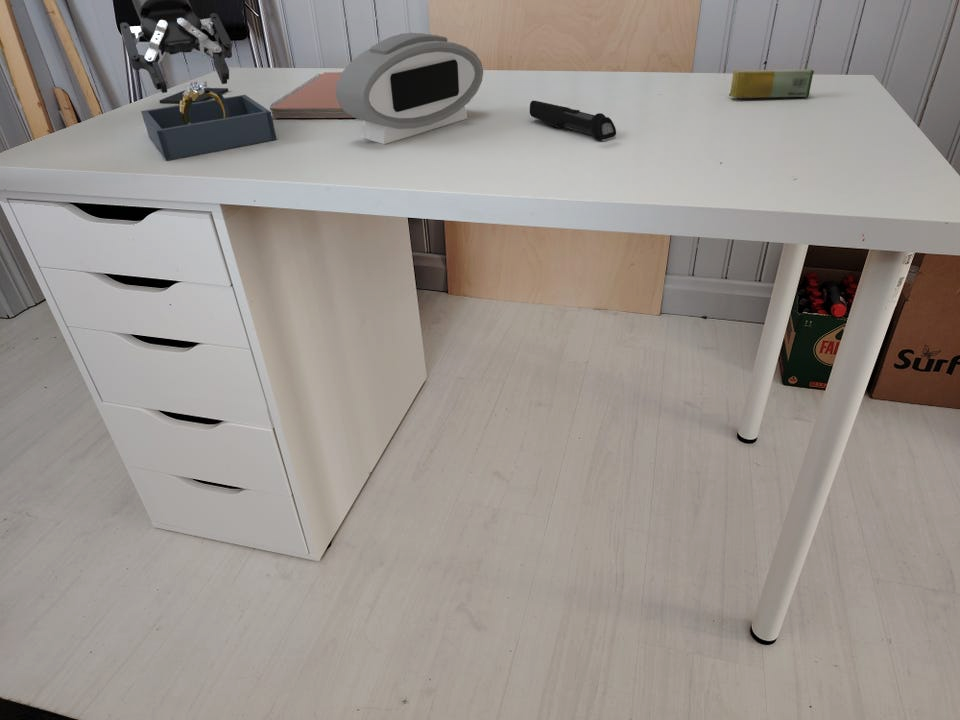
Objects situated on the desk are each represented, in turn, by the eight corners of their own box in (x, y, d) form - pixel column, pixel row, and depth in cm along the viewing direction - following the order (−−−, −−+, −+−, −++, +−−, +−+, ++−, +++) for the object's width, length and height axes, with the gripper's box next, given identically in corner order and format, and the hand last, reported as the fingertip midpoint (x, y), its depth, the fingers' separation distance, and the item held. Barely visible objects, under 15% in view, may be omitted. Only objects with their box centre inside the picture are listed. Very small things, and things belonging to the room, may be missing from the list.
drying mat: (198, 104, 116) (197, 101, 115) (159, 103, 117) (159, 100, 117) (228, 90, 124) (227, 88, 123) (191, 90, 125) (191, 87, 125)
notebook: (320, 81, 127) (318, 71, 126) (404, 81, 125) (403, 69, 124) (265, 119, 105) (262, 106, 104) (365, 119, 103) (364, 106, 102)
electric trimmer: (541, 118, 100) (541, 96, 99) (618, 137, 90) (619, 113, 88) (523, 123, 99) (523, 101, 97) (599, 142, 88) (600, 119, 87)
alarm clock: (369, 151, 89) (356, 50, 82) (343, 143, 93) (328, 45, 85) (485, 115, 102) (482, 25, 95) (458, 109, 106) (453, 22, 99)
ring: (193, 146, 94) (176, 88, 90) (185, 142, 96) (168, 84, 92) (238, 135, 98) (224, 79, 93) (229, 131, 100) (215, 76, 95)
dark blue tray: (166, 160, 89) (156, 131, 87) (149, 138, 98) (140, 111, 96) (276, 139, 95) (270, 111, 93) (251, 120, 105) (245, 94, 103)
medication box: (802, 95, 105) (808, 68, 103) (809, 97, 103) (815, 70, 101) (728, 96, 106) (732, 69, 104) (733, 98, 103) (738, 70, 101)
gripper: (98, -27, 89) (140, 75, 88) (204, -35, 95) (244, 61, 94) (108, 13, 96) (146, 108, 95) (206, 3, 102) (243, 93, 101)
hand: (195, 84), depth 94 cm, fingers open, 8 cm apart
